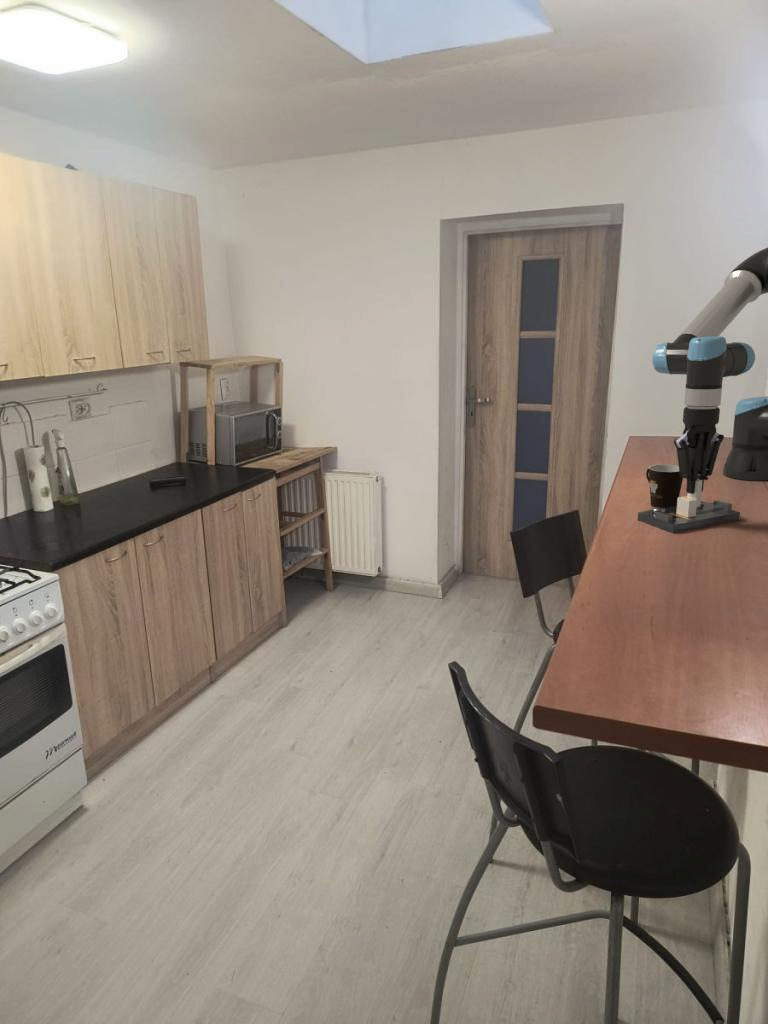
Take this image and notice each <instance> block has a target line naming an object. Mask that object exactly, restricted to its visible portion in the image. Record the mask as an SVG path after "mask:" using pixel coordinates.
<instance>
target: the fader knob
mask: <svg viewBox="0 0 768 1024" xmlns="http://www.w3.org/2000/svg"><path fill="white" fill-rule="evenodd" d="M696 508H697V499H693V498H690V497H687V496H686V495H685V496H681V497H680V496H679V497H678V500H677V512H676V514H679V515H682V516H685V517H693V516H696Z"/></svg>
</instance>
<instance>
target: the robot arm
mask: <svg viewBox="0 0 768 1024" xmlns="http://www.w3.org/2000/svg"><path fill="white" fill-rule="evenodd" d="M763 294H768V247H765V248H764V249H761V250H759V251H757V252H756V253H753V254H752V255H750V256H748V257H747V258H746V259H744V260H743V261H742V262H741V263H739V264H738V265H737V266H736V267H734V269H733V270H732V271H731V272H730V273H729V274H728V275H727V276H726V278H725V279H724V283H723V286H722V287H721V289H719V291H718V292H717V293H716V294H715V295H714V297H712V299H711V300H710V301H709V302H708V303H707V304H706V305H705V306H704V308H702V310H701V311H700V312H699V313H698V314H697V315H696V316H695V317H694V319H693V320H692V321H691V322H690V323H689V324H688V325H687V327H685V329H684V330H682V332H680V334H679V335H678V337H677V338H676V339H674V341H672V342H668V341H667V342H664V343H660V344H657V346H656V347H655V348H654V350H653V354H652V356H651V357H652V358H651V362H652V366H653V369H654V371H656V373H659V374H667V375H671V376H672V375H682V376H683V375H684V376H685V375H686V380H685V392H684V401H683V403H684V405H685V407H684V408H683V411H682V412H683V414H682V423H683V424H684V428H683V431H682V435H681V436H680V437H678V438H674V440H673V444H674V446H675V448H676V455H677V462H678V466H679V472H680V477H683V479H686V487H685V491H686V495H687V496H686V497H690V498H693V499H697V507H700V502H701V501H702V493H703V491H704V485H705V484H704V483H705V481H708V480H709V477H711V476H712V474H713V471H714V467H715V464H716V460H717V456H718V454H719V449H720V448H721V447H720V446H721V444H722V442H723V440H724V439H725V436H724V434H721V433H718V432H717V427H716V425H718V424H719V422H720V415H721V409H720V408H719V406H720V405H721V403H722V402H721V401H722V391H723V381H724V378H727V377H737V376H740V375H742V374H745V373H748V371H750V370H751V369H752V367H754V366H753V365H754V364H755V360H756V354H755V350H754V349H753V347H752V346H751V345H750V344H748V343H746V342H740V341H738V342H737V341H736V342H735V341H733V342H727V339H726V338H725V337H724V336H720V335H721V334H722V333H723V332H725V330H726V329H727V328H728V327H729V325H730V324H731V323H732V322H733V321H734V320H735V319H736V317H737V316H739V314H740V313H741V311H743V309H745V307H746V306H747V305H748V304H749V303H752V302H755V301H756V300H758V298H759V297H760V296H762V295H763ZM733 417H734V420H733V421H734V422H733V432H732V442H731V449H730V451H729V454H728V456H727V458H726V461H725V463H724V464H723V465H722V466H723V468H722V475H723V476H725V477H728V478H731V479H735V480H745V481H753V482H755V481H756V482H758V481H759V482H761V481H763V482H765V481H768V395H767V396H756V397H750V398H743V399H741V400H739V401H737V403H736V405H735V411H734V414H733Z"/></svg>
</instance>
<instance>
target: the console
mask: <svg viewBox="0 0 768 1024" xmlns="http://www.w3.org/2000/svg"><path fill="white" fill-rule="evenodd" d="M676 512H677V506H671V507H665V508H663V507H652V509H650V510H645V511H638V512H637V521H639V522H642V523H644V524H647V525H650V526H652V527H655V528H659V529H661V530H662V531H663V530H664V531H666V532H669V533H671V534H676V533H680V532H686V531H691V530H692V531H693V530H696V529H702V528H706V527H711V526H718V525H722V524H728V523H734V522H737V521H740V517H741V512H740V511H737V510H733V504H732V503H729V502H726V501H723V500H720V499H715V500H713V503H710V502H707V501H704V500H701V502H700V507H697V508H696V516H693V517H685V516H682V515H679V514H676Z"/></svg>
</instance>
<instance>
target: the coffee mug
mask: <svg viewBox="0 0 768 1024" xmlns="http://www.w3.org/2000/svg"><path fill="white" fill-rule="evenodd" d="M645 476H646V480H647V482H648V484H649V495H650V497H649V499H650V506H651V507H652V508H654V507H663V508H665V507H671V506H677V500H678V497H680V494H681V490H682V486H683V485H682V484H683V481H684V480H683V479H684V478H683V477H680V472H679V465H675V464H664V463H663V464H653V465H649V466H648V468H647V470H646V473H645Z"/></svg>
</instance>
